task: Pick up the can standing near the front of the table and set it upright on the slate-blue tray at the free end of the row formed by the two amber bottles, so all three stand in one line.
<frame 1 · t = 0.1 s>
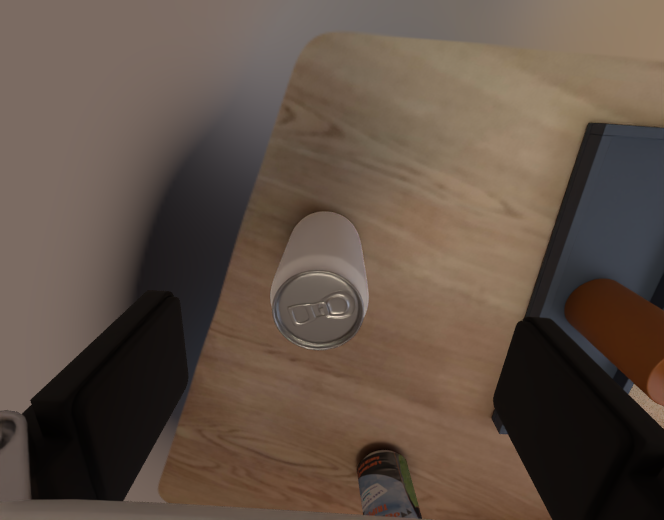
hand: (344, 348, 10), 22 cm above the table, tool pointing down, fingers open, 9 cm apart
beverage can: (384, 460, 44), on the table
tray: (590, 301, 34), on the table
can: (325, 243, 33), on the table
amber bottle a: (594, 304, 34), point 1 cm above the table, touching tray
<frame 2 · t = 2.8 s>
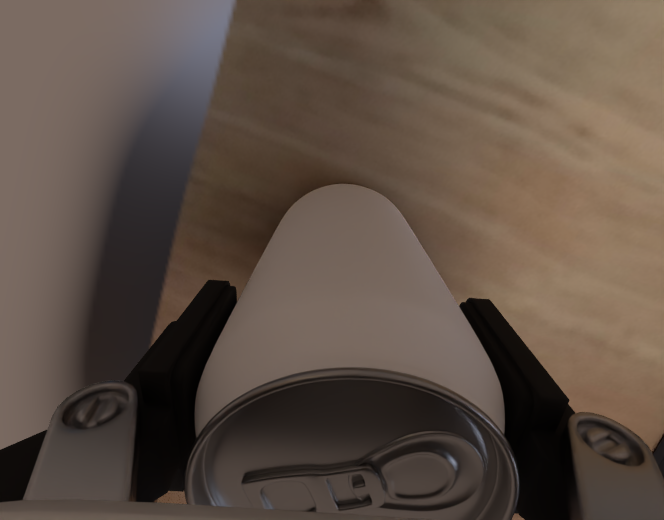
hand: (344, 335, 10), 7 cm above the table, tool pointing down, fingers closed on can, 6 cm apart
can: (342, 247, 17), on the table, touching gripper
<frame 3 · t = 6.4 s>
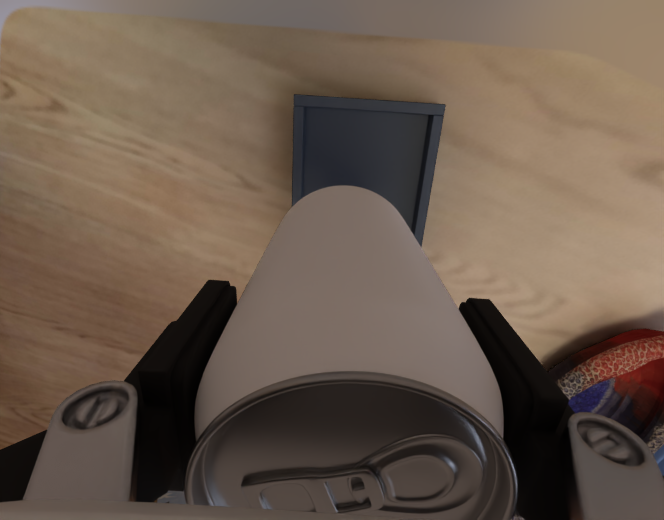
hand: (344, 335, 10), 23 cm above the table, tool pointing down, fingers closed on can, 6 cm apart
tray: (351, 275, 35), on the table
dish: (561, 411, 41), on the table
can: (342, 248, 17), point 16 cm above the table, touching gripper
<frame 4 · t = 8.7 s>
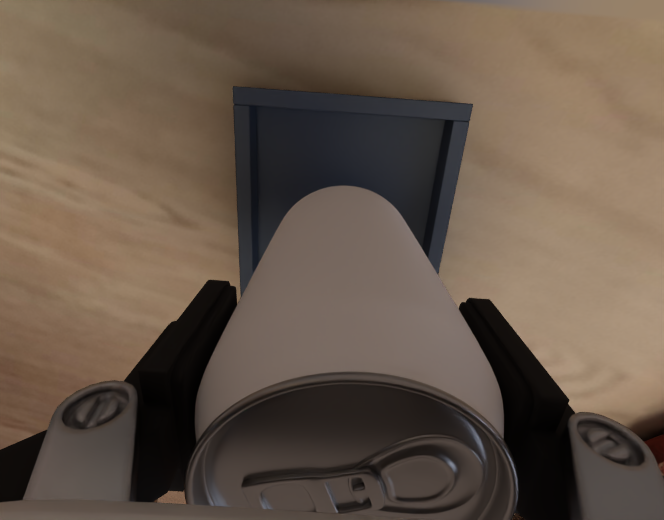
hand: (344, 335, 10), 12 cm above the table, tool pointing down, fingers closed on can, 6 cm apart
tray: (331, 341, 25), on the table
dish: (608, 507, 32), on the table
can: (342, 248, 17), point 5 cm above the table, touching gripper
when the fingers open (8 cm above the table, at t = 10.3 s): can stays where it is, resting on tray.
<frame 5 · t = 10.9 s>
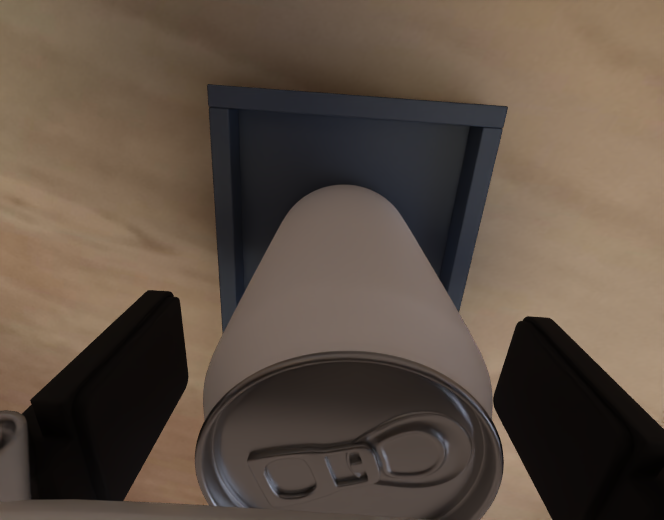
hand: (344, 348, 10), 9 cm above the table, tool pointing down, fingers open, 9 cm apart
tray: (331, 381, 22), on the table
can: (343, 246, 18), resting on tray
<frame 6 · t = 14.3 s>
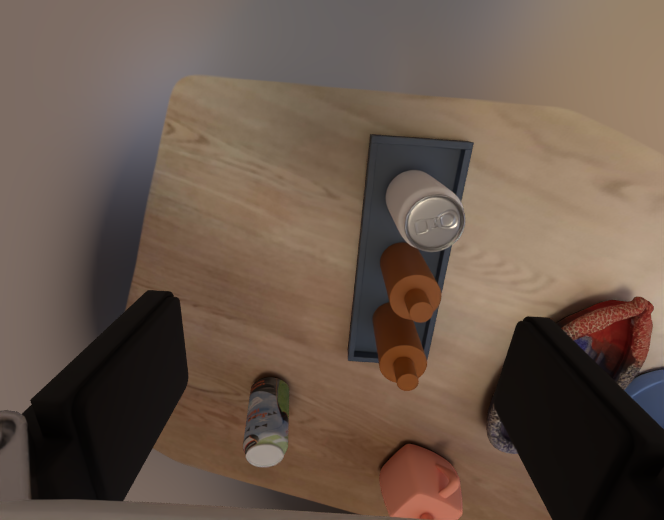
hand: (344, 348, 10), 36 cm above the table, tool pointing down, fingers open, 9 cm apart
teapot: (412, 465, 64), on the table
beverage can: (274, 387, 57), on the table
amber bottle b: (391, 318, 51), point 1 cm above the table, touching tray
tray: (400, 260, 48), on the table
water jug: (651, 403, 57), on the table
dish: (552, 366, 55), on the table
can: (410, 195, 44), resting on tray
amber bottle a: (400, 261, 48), point 1 cm above the table, touching tray
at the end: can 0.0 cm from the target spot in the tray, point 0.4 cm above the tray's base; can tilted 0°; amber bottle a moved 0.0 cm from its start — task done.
